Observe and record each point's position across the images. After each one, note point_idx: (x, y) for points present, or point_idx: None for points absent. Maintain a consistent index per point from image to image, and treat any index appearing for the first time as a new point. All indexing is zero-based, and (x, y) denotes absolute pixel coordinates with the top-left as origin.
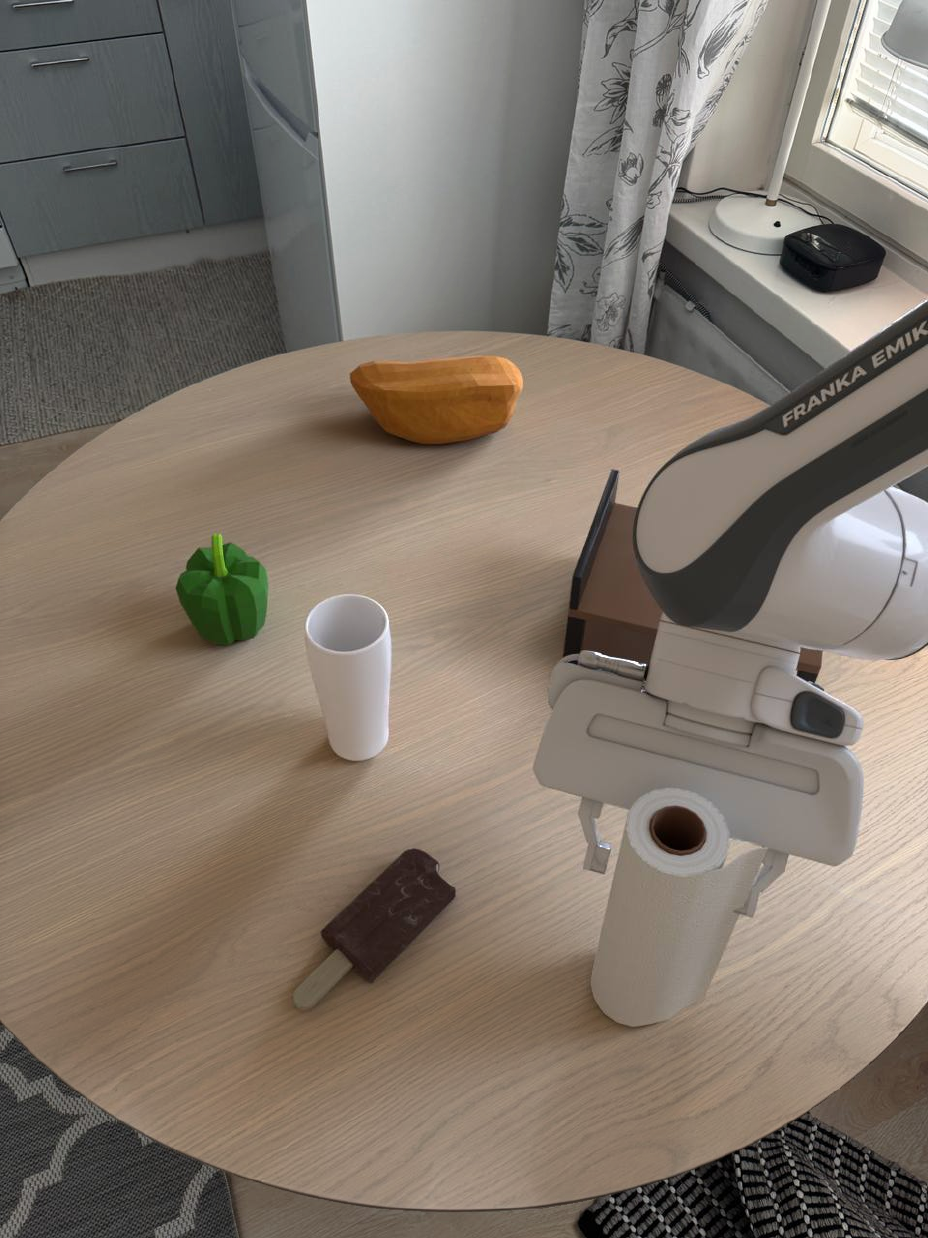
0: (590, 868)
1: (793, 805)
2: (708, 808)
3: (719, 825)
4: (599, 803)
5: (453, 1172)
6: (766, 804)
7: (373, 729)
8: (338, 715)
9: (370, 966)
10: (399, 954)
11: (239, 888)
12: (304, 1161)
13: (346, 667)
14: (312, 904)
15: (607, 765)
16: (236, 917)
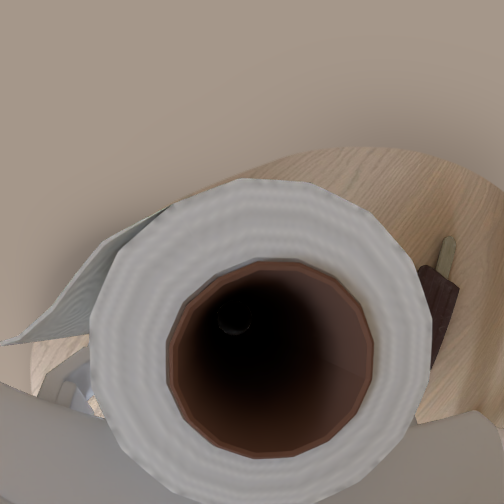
0: None
1: (11, 474)
2: (174, 471)
3: (126, 414)
4: None
5: (333, 161)
6: (56, 484)
7: None
8: (502, 429)
9: (429, 270)
10: None
11: (491, 306)
12: (408, 158)
13: None
14: (461, 311)
15: (419, 489)
16: (487, 287)
